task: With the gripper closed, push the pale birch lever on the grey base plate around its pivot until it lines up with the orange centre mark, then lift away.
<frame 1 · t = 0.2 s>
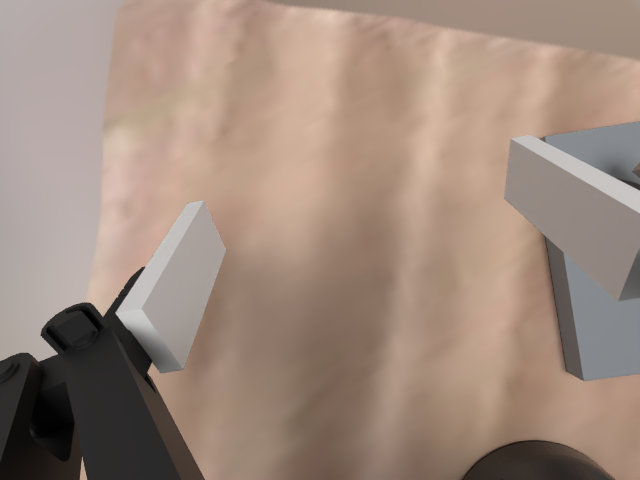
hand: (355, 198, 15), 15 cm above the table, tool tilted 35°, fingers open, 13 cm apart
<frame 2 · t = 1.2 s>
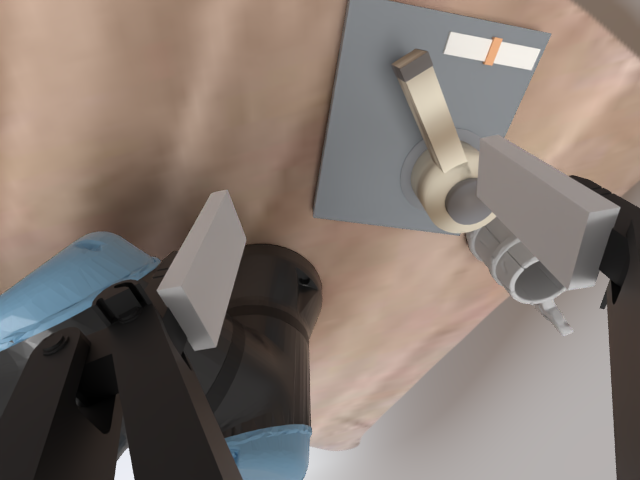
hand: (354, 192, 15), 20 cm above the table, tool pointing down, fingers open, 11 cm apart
lever: (441, 147, 29), point 6 cm above the table, hinge at 40.0°
grey base plate: (410, 132, 34), on the table
mug: (498, 238, 42), on the table
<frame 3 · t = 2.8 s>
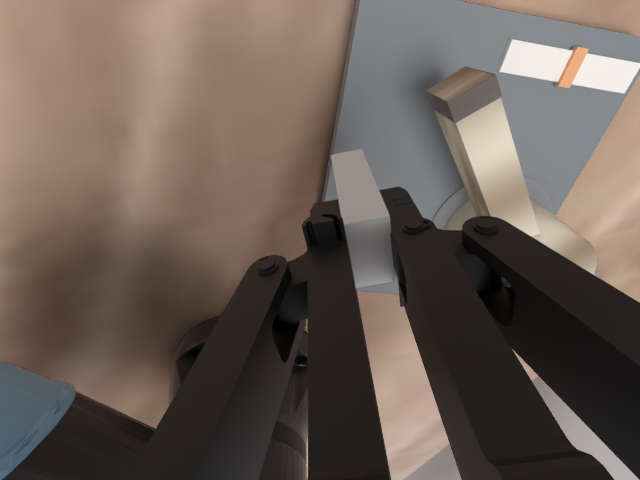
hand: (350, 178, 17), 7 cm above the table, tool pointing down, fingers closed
lever: (495, 207, 20), point 6 cm above the table, hinge at 40.0°
grey base plate: (441, 175, 25), on the table
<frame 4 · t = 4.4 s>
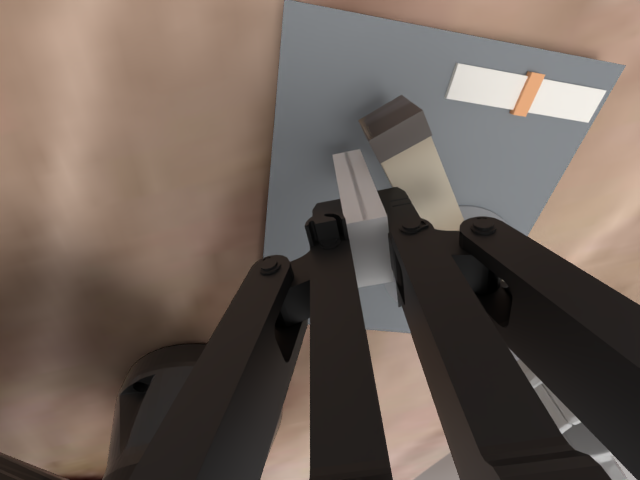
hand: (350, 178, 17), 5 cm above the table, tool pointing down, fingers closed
lever: (444, 247, 18), point 6 cm above the table, hinge at 39.1°, touching gripper
grey base plate: (396, 204, 23), on the table
mug: (521, 331, 30), on the table
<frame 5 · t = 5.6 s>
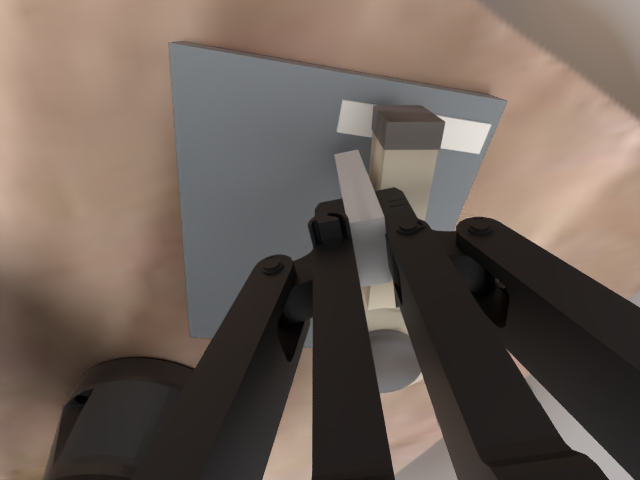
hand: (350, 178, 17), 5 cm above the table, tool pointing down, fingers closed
lever: (381, 264, 18), point 6 cm above the table, hinge at 8.7°, touching gripper
grey base plate: (316, 227, 23), on the table
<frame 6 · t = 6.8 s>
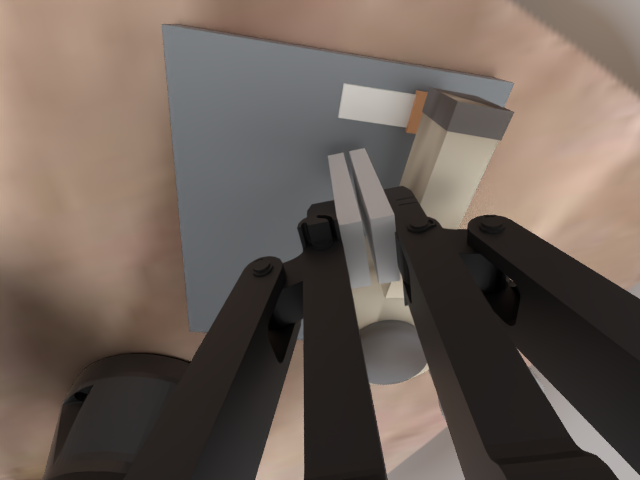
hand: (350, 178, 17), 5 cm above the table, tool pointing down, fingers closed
lever: (400, 254, 18), point 6 cm above the table, hinge at -1.4°
grey base plate: (317, 217, 23), on the table
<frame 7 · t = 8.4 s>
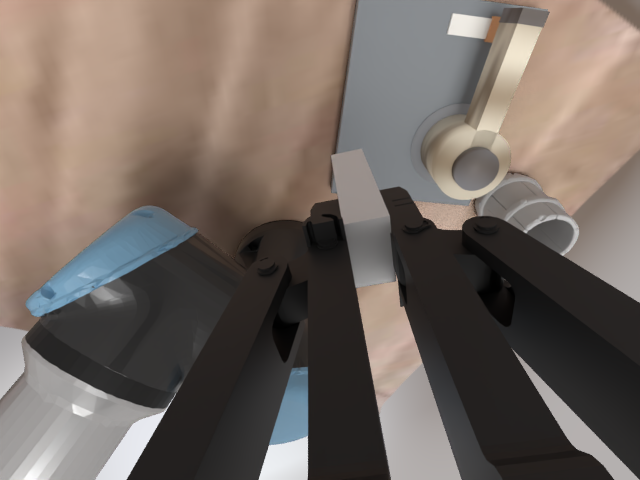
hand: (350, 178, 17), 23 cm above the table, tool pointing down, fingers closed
lever: (481, 112, 31), point 6 cm above the table, hinge at -0.9°
grey base plate: (419, 109, 37), on the table
mug: (506, 208, 44), on the table
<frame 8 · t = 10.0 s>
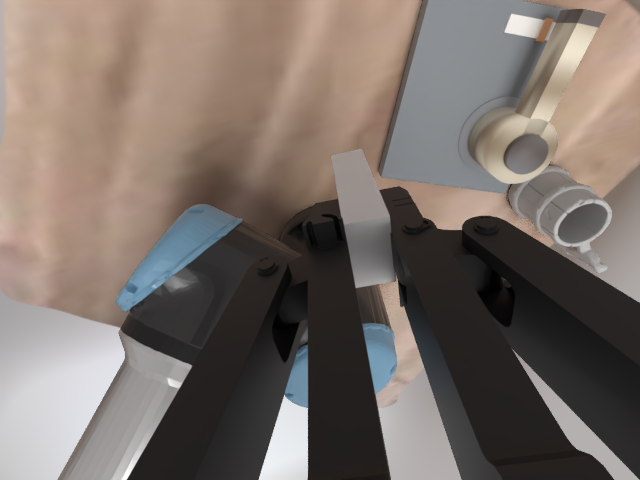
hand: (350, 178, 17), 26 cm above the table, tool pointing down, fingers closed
lever: (532, 103, 35), point 6 cm above the table, hinge at -0.9°
grey base plate: (467, 101, 40), on the table
mug: (536, 199, 48), on the table
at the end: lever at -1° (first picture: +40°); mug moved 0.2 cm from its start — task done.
